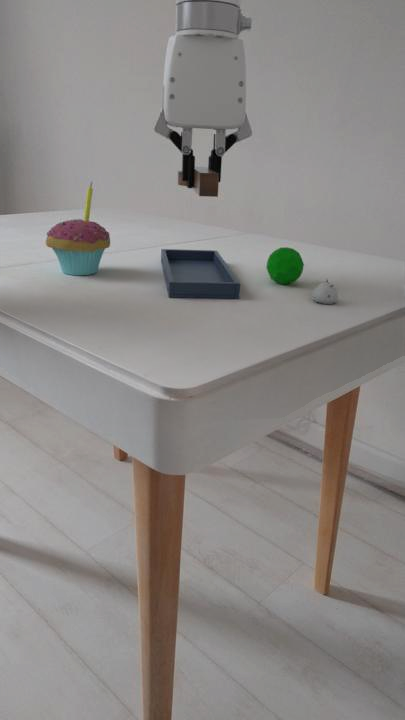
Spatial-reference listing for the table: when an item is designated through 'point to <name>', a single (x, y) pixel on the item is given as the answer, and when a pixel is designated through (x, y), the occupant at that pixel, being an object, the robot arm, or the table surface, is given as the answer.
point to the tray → (198, 274)
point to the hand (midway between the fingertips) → (200, 186)
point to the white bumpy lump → (325, 293)
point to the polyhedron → (285, 265)
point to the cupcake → (79, 243)
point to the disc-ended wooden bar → (203, 181)
